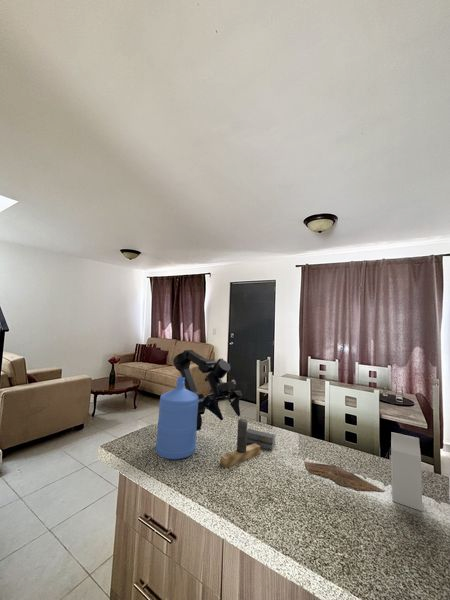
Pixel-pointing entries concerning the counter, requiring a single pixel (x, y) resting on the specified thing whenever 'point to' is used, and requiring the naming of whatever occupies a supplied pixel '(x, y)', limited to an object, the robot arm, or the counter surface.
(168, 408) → the water jug
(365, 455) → the counter surface
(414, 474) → the milk carton
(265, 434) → the ridge stand
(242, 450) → the tan grey t-shaped tool
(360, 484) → the wooden fragment
